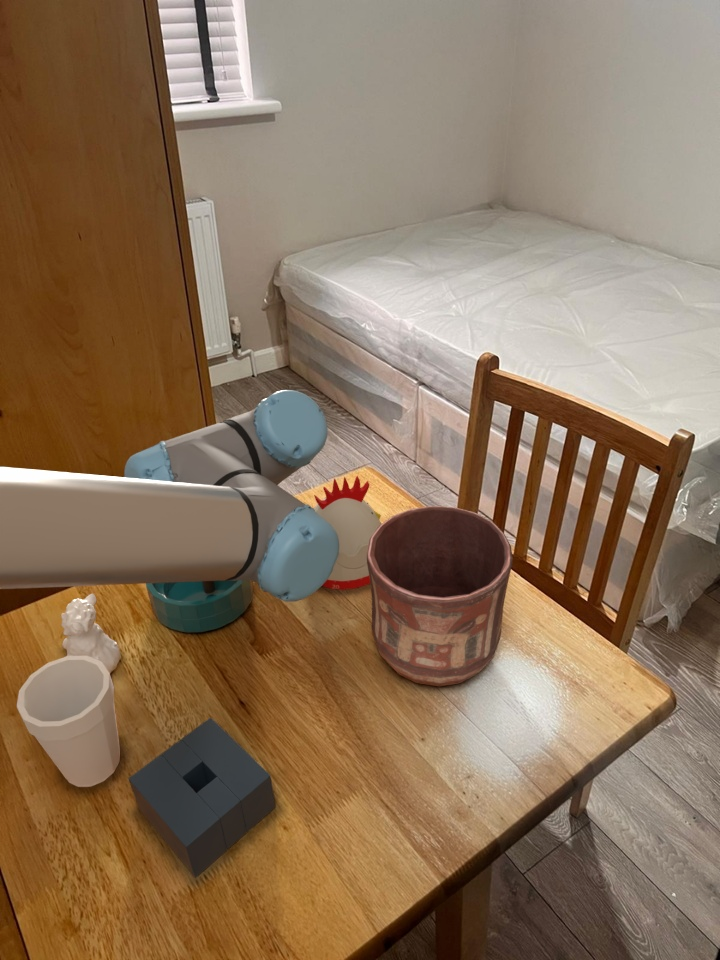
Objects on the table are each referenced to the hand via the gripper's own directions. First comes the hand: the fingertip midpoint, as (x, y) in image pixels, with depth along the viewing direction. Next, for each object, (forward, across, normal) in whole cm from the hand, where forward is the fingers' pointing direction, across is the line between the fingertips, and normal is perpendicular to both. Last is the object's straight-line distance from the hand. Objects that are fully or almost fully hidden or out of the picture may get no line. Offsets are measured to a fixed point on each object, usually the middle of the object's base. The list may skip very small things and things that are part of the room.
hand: (182, 523), depth 103 cm
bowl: (+6, -1, -11) cm, 12 cm away
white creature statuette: (+6, -19, -11) cm, 23 cm away
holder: (-13, -20, -30) cm, 38 cm away
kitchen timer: (0, +20, -17) cm, 26 cm away
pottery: (-16, +14, -33) cm, 39 cm away
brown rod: (+4, 0, -10) cm, 11 cm away
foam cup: (-3, -26, -20) cm, 33 cm away
